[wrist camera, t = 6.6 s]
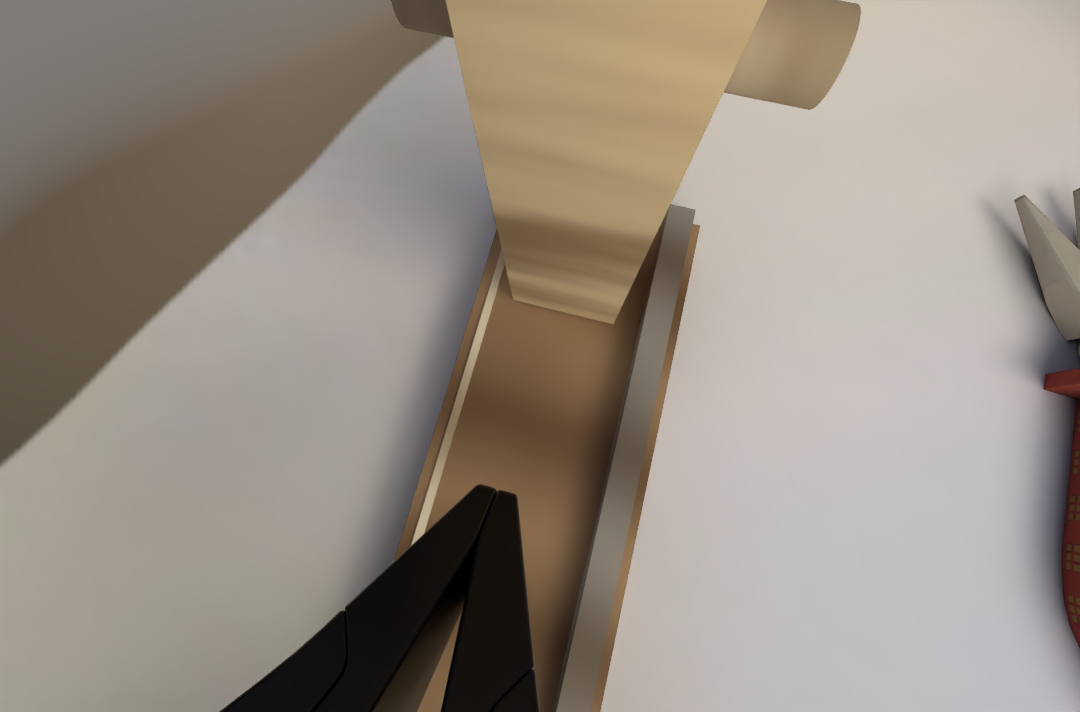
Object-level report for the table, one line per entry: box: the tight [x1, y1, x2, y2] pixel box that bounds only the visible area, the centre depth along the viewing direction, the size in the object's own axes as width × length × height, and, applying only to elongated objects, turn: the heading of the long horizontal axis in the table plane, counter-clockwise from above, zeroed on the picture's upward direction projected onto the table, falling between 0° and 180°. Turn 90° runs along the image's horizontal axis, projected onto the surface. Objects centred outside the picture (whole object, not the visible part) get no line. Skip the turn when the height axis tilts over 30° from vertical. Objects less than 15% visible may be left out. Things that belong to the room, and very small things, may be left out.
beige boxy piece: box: [391, 0, 861, 324], centre depth 11 cm, size 5×8×15 cm, turn 75°
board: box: [394, 204, 700, 712], centre depth 17 cm, size 21×8×2 cm, turn 165°
